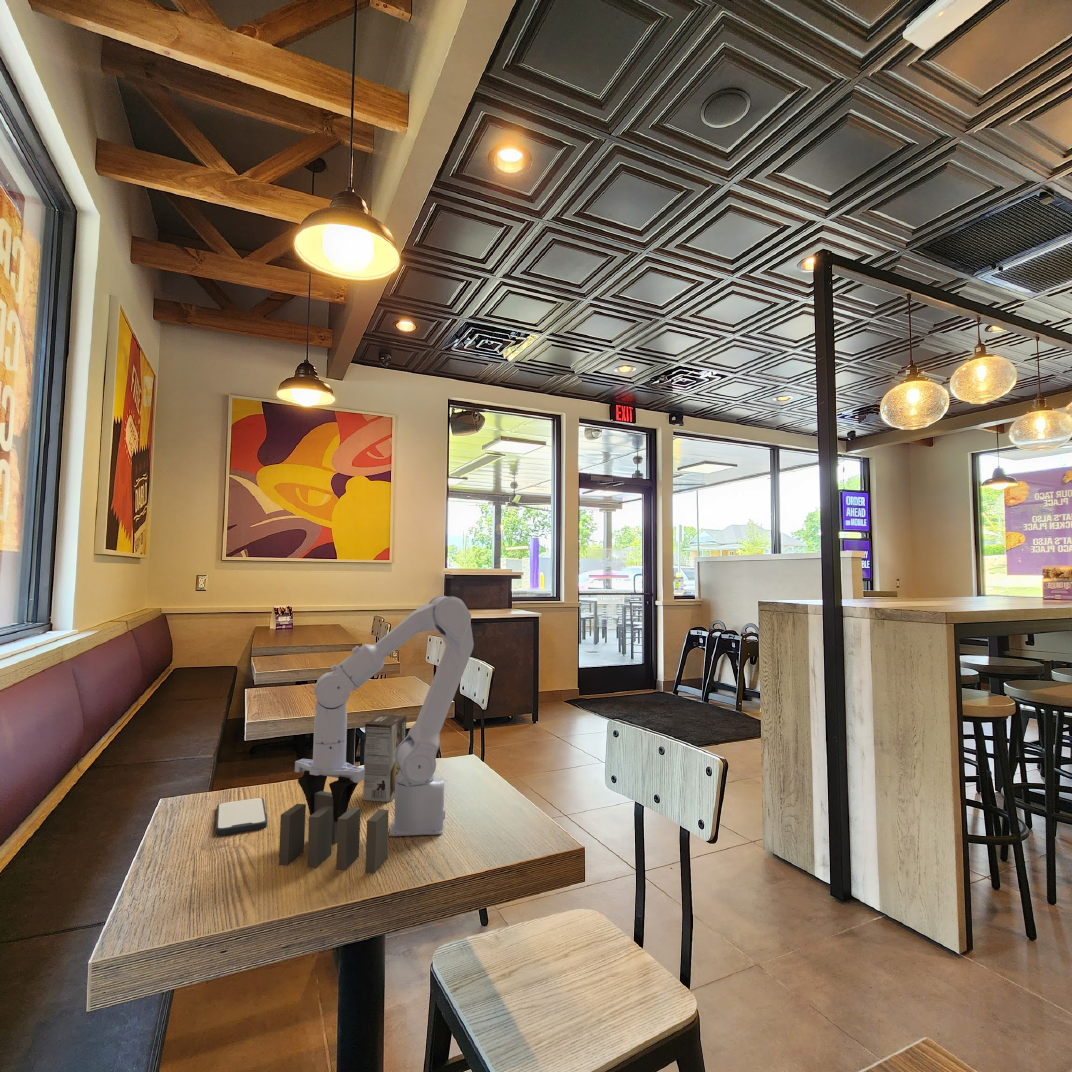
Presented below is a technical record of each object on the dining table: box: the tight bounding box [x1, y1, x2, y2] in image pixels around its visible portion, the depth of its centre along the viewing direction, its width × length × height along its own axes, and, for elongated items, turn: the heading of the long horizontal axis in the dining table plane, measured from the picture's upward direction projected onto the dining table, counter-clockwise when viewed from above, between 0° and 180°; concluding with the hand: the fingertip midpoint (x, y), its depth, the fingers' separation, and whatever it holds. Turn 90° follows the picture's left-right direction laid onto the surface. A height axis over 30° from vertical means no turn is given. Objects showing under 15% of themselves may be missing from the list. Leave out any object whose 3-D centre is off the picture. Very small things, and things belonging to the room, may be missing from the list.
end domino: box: [314, 791, 338, 845], centre depth 108 cm, size 2×5×8 cm, turn 66°
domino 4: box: [364, 808, 389, 874], centre depth 98 cm, size 2×5×8 cm, turn 171°
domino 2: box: [306, 805, 333, 869], centre depth 99 cm, size 2×5×8 cm, turn 171°
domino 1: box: [278, 803, 307, 867], centre depth 100 cm, size 2×5×8 cm, turn 171°
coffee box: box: [362, 714, 407, 803], centre depth 131 cm, size 9×6×16 cm
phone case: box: [214, 797, 268, 837], centre depth 117 cm, size 9×2×16 cm
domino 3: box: [335, 806, 361, 872], centre depth 99 cm, size 2×5×8 cm, turn 171°
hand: (327, 817), depth 108 cm, fingers closed on end domino, 5 cm apart
